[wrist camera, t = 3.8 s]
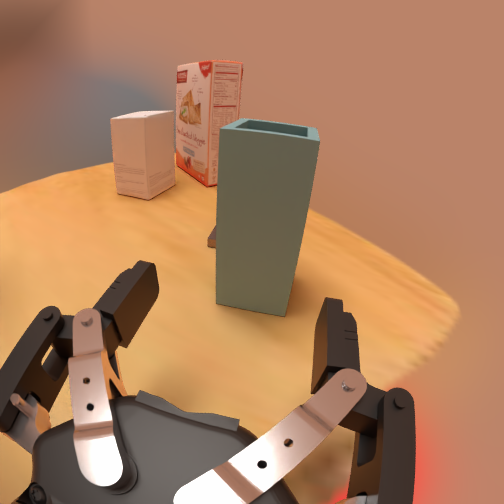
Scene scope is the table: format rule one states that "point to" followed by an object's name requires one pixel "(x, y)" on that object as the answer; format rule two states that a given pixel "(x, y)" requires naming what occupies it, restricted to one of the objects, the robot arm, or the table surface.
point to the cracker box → (205, 114)
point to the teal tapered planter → (261, 211)
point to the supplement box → (143, 153)
